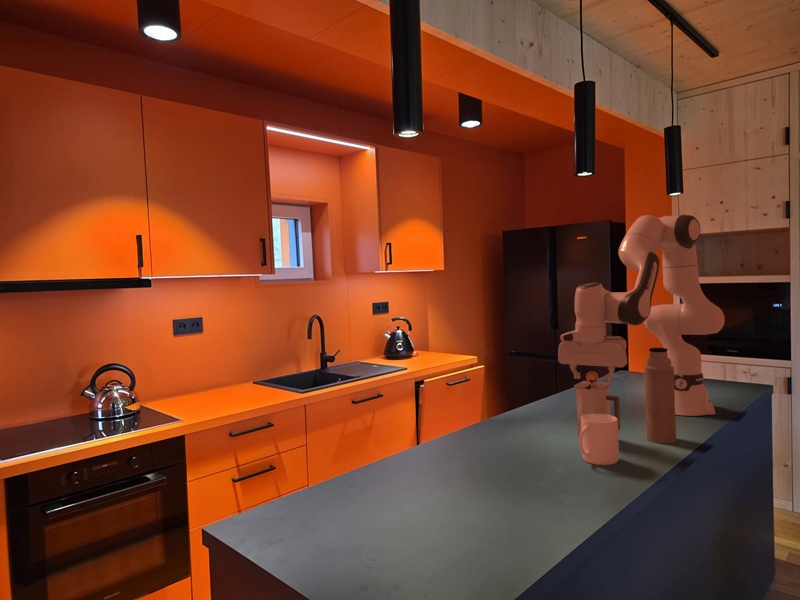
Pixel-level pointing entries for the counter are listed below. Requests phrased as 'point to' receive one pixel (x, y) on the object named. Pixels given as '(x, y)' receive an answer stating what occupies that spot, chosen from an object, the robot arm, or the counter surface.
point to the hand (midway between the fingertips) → (592, 379)
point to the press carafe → (595, 401)
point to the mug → (599, 439)
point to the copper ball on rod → (592, 377)
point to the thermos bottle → (660, 397)
